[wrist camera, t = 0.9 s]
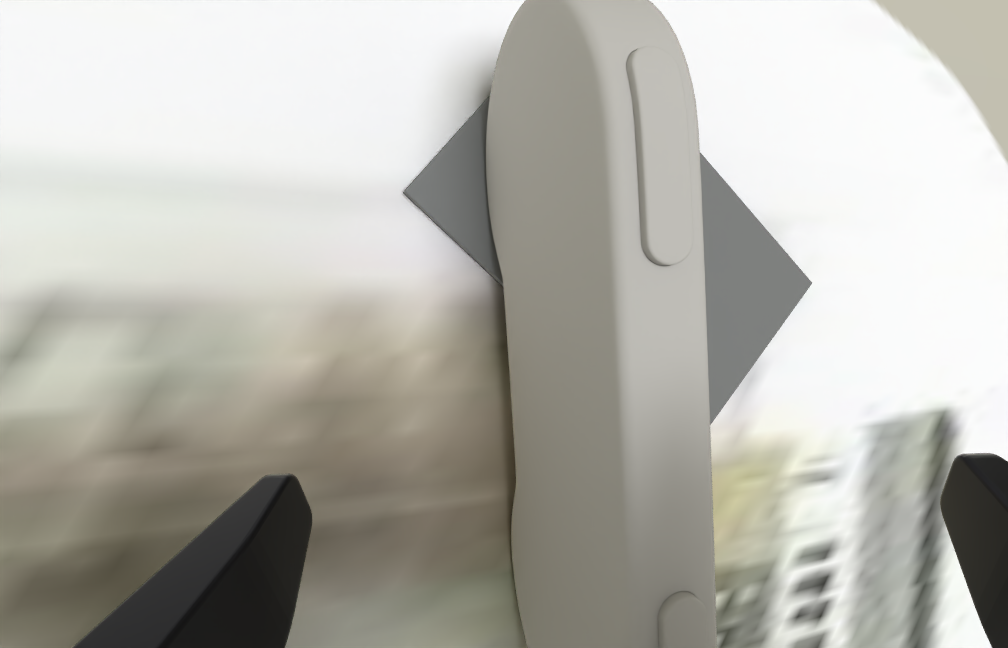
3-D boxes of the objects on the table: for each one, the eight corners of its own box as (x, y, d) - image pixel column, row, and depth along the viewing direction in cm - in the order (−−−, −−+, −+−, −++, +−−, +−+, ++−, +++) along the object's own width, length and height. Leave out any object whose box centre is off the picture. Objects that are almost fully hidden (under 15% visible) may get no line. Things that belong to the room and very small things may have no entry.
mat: (682, 455, 23) (687, 457, 23) (402, 192, 20) (404, 191, 19) (805, 282, 25) (812, 283, 24) (568, 7, 21) (572, 4, 21)
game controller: (581, 654, 22) (745, 865, 14) (517, 672, 22) (652, 904, 14) (547, 51, 20) (716, -85, 12) (474, 49, 20) (605, -98, 12)
